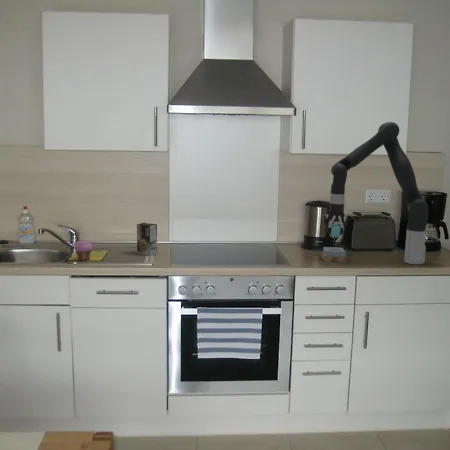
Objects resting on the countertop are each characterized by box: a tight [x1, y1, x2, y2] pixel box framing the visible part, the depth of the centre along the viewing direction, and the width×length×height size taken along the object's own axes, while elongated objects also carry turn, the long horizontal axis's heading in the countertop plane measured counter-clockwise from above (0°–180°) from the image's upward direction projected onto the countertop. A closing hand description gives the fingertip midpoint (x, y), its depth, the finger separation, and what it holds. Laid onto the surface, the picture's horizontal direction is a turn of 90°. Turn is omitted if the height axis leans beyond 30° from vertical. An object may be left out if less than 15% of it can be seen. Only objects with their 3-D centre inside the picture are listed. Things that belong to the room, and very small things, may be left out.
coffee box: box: [136, 222, 158, 256], centre depth 289 cm, size 9×6×16 cm
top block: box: [322, 246, 347, 257], centre depth 285 cm, size 10×10×3 cm
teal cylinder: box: [329, 223, 341, 238], centre depth 283 cm, size 5×5×6 cm
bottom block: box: [319, 251, 349, 263], centre depth 286 cm, size 12×12×3 cm
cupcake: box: [73, 240, 94, 262], centre depth 273 cm, size 9×9×10 cm
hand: (334, 234), depth 284 cm, fingers closed on teal cylinder, 5 cm apart
